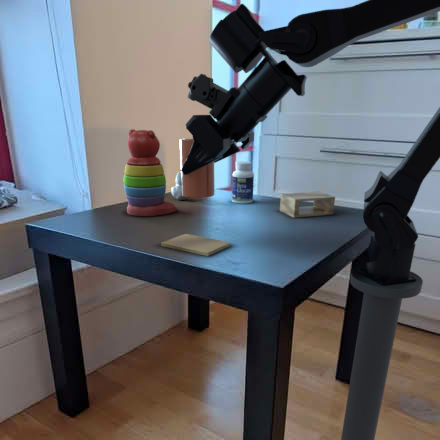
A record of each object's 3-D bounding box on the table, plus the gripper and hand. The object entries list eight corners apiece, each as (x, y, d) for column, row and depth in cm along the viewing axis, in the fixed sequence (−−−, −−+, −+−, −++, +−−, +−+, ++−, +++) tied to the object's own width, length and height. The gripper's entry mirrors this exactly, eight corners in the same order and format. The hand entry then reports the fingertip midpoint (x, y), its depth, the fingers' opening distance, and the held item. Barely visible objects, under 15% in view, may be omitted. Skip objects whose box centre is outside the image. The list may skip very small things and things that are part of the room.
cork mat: (230, 245, 73) (230, 242, 73) (207, 256, 68) (207, 252, 67) (185, 236, 78) (185, 233, 78) (160, 245, 73) (160, 242, 72)
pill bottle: (235, 204, 104) (236, 163, 100) (229, 200, 109) (229, 161, 105) (255, 203, 106) (257, 163, 102) (248, 199, 110) (250, 160, 106)
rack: (333, 214, 95) (335, 196, 93) (293, 217, 92) (295, 199, 90) (317, 208, 101) (318, 191, 99) (279, 211, 98) (280, 193, 96)
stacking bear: (180, 210, 98) (177, 129, 91) (151, 219, 90) (145, 131, 83) (145, 205, 103) (139, 127, 96) (115, 213, 95) (106, 129, 88)
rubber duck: (175, 202, 106) (173, 169, 103) (168, 197, 112) (167, 166, 109) (195, 200, 108) (194, 168, 105) (188, 196, 114) (187, 165, 111)
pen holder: (217, 192, 73) (217, 137, 70) (210, 198, 68) (210, 139, 65) (186, 191, 74) (184, 137, 71) (177, 197, 69) (175, 139, 66)
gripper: (237, 61, 70) (179, 131, 77) (197, 47, 54) (129, 136, 61) (281, 112, 71) (219, 176, 78) (255, 113, 55) (180, 194, 62)
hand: (190, 170), depth 70 cm, fingers closed on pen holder, 5 cm apart
